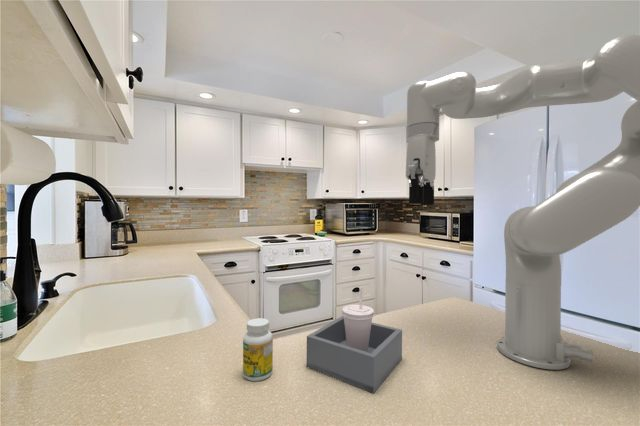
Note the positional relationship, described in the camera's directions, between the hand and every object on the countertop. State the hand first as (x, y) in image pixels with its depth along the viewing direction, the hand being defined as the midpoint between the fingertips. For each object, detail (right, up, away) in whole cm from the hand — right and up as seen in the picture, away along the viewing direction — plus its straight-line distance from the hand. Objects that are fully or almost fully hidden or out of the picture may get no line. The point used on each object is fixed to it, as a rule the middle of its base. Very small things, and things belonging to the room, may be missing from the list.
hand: (422, 204), depth 71 cm
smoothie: (-18, -31, -13) cm, 38 cm away
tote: (-18, -32, -13) cm, 39 cm away
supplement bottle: (-37, -32, -17) cm, 52 cm away
